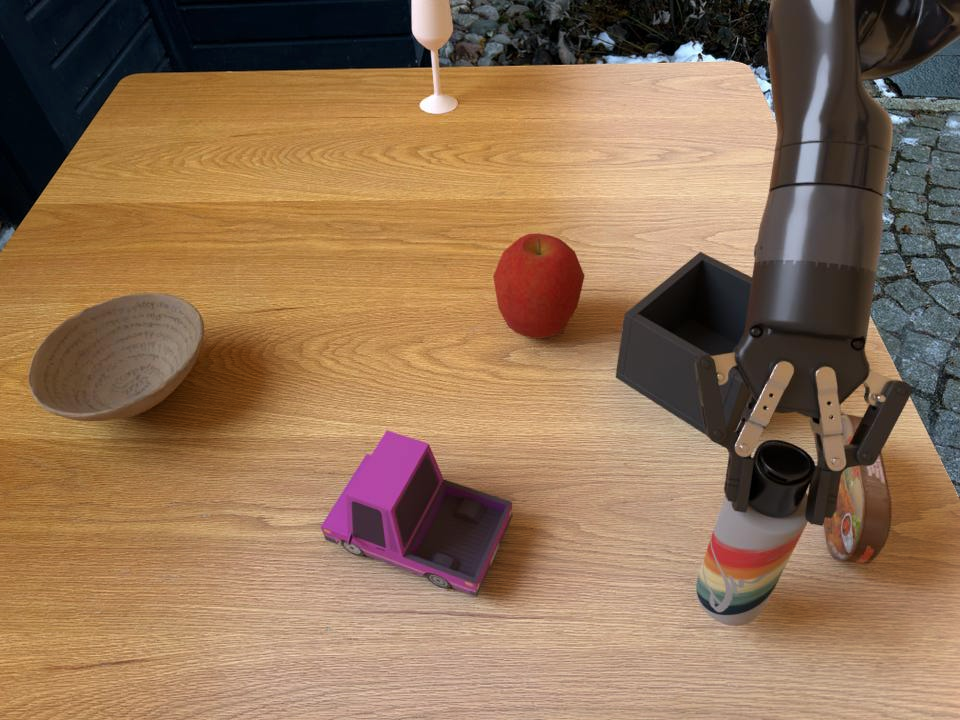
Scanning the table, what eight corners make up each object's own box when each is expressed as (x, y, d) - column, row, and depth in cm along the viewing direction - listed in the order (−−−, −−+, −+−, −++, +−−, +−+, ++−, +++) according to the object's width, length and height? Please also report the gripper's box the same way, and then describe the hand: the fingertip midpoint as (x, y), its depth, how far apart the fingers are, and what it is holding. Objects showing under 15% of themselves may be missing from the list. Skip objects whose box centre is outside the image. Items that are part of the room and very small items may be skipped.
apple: (502, 362, 87) (500, 271, 77) (488, 305, 94) (485, 215, 84) (588, 350, 88) (598, 258, 78) (568, 295, 95) (574, 204, 85)
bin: (789, 373, 85) (815, 308, 77) (721, 445, 78) (742, 382, 71) (685, 315, 92) (700, 251, 85) (615, 377, 85) (624, 313, 78)
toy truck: (376, 468, 78) (361, 407, 71) (515, 515, 73) (515, 455, 66) (323, 555, 71) (301, 497, 64) (473, 612, 67) (467, 557, 59)
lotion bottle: (683, 604, 63) (727, 468, 49) (710, 553, 66) (760, 411, 52) (748, 641, 61) (815, 509, 46) (774, 586, 64) (844, 447, 49)
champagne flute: (465, 102, 130) (457, -46, 113) (438, 117, 127) (425, -33, 110) (439, 91, 134) (427, -55, 116) (411, 105, 130) (395, -43, 113)
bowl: (58, 363, 90) (26, 315, 84) (212, 320, 94) (192, 272, 88) (59, 482, 78) (22, 435, 72) (235, 426, 82) (214, 378, 77)
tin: (813, 446, 78) (839, 393, 72) (845, 450, 77) (874, 397, 71) (829, 577, 68) (860, 529, 62) (866, 584, 67) (901, 536, 61)
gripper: (710, 245, 47) (672, 510, 48) (955, 271, 45) (910, 550, 45) (698, 258, 55) (665, 488, 56) (908, 281, 52) (870, 521, 53)
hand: (776, 514), depth 50 cm, fingers closed on lotion bottle, 4 cm apart
